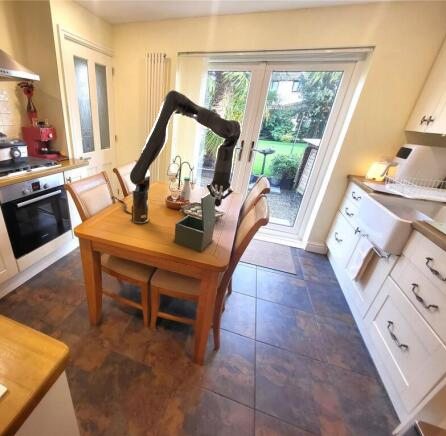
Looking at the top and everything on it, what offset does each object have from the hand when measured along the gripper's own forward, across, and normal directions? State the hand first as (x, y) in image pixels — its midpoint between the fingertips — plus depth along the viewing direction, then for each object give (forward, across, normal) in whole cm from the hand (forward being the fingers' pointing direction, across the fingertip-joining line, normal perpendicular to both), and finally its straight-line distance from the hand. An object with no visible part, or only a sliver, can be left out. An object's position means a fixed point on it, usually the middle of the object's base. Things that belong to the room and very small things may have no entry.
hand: (217, 206), depth 109 cm
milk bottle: (+24, +40, -44) cm, 64 cm away
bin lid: (+4, +4, 0) cm, 6 cm away
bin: (+23, +10, 0) cm, 25 cm away
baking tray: (+23, +22, -33) cm, 46 cm away
